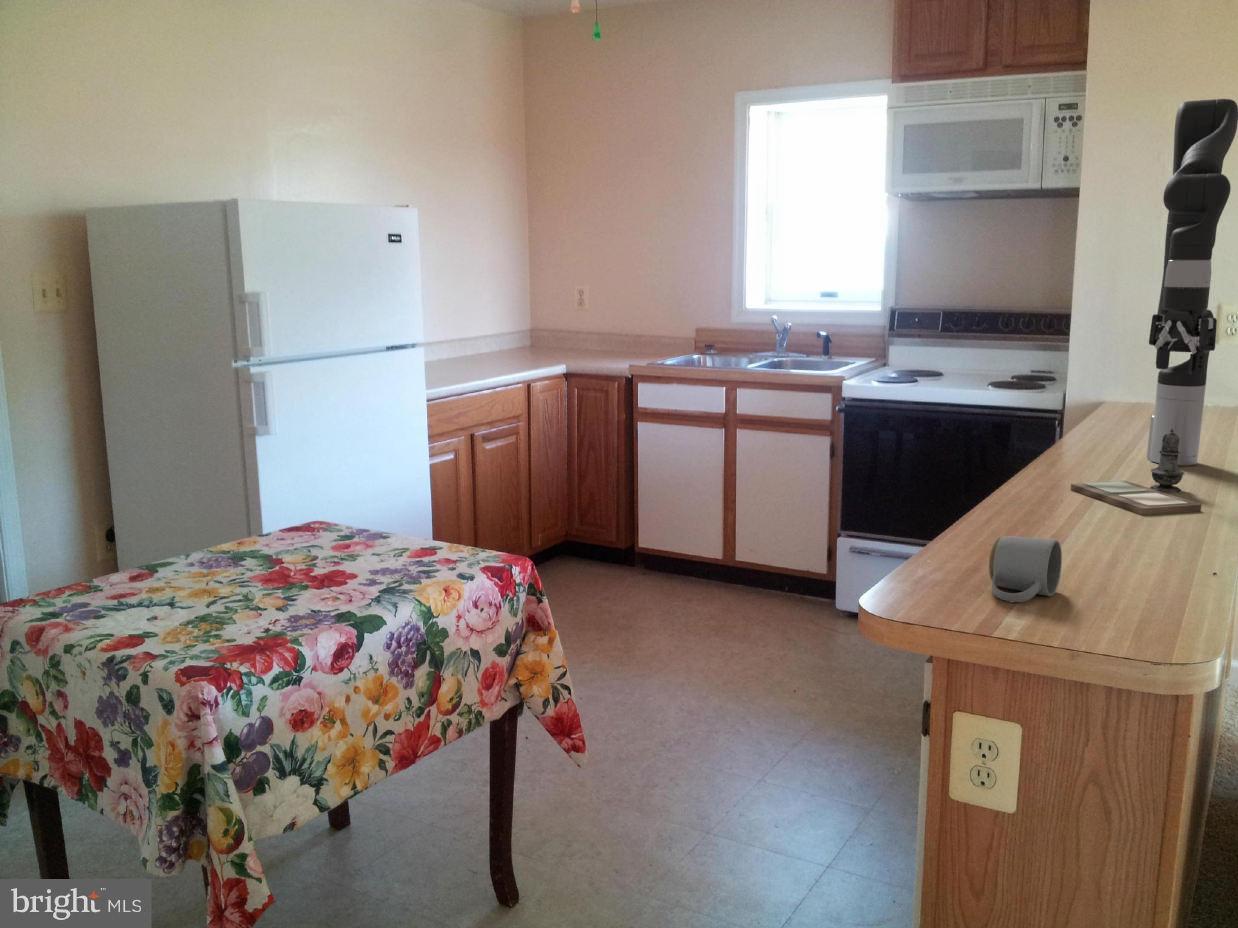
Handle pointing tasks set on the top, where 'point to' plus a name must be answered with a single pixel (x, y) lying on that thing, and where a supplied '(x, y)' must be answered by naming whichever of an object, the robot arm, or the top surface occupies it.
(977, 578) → the top surface
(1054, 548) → the ceramic mug
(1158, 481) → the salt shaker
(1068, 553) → the top surface
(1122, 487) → the board
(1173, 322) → the robot arm
